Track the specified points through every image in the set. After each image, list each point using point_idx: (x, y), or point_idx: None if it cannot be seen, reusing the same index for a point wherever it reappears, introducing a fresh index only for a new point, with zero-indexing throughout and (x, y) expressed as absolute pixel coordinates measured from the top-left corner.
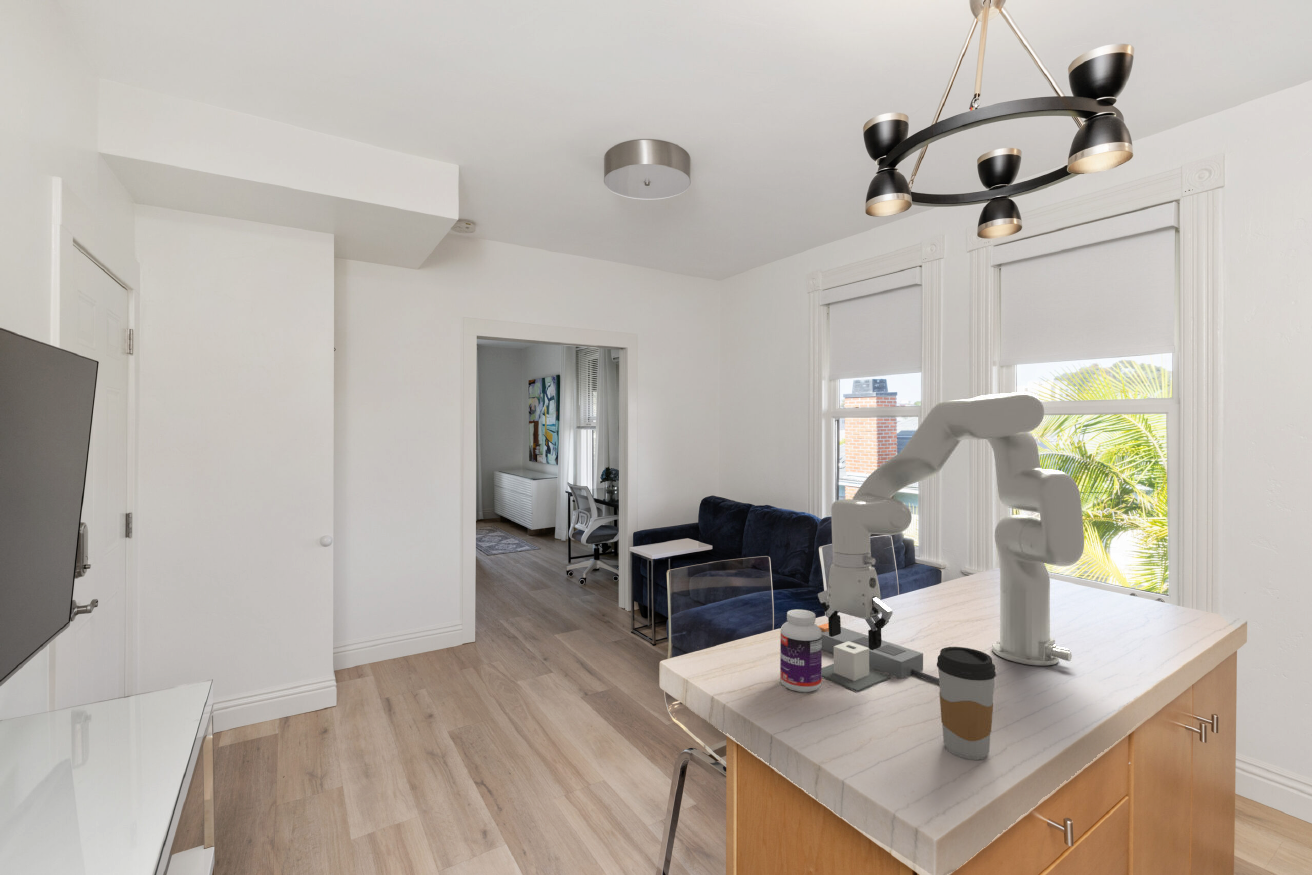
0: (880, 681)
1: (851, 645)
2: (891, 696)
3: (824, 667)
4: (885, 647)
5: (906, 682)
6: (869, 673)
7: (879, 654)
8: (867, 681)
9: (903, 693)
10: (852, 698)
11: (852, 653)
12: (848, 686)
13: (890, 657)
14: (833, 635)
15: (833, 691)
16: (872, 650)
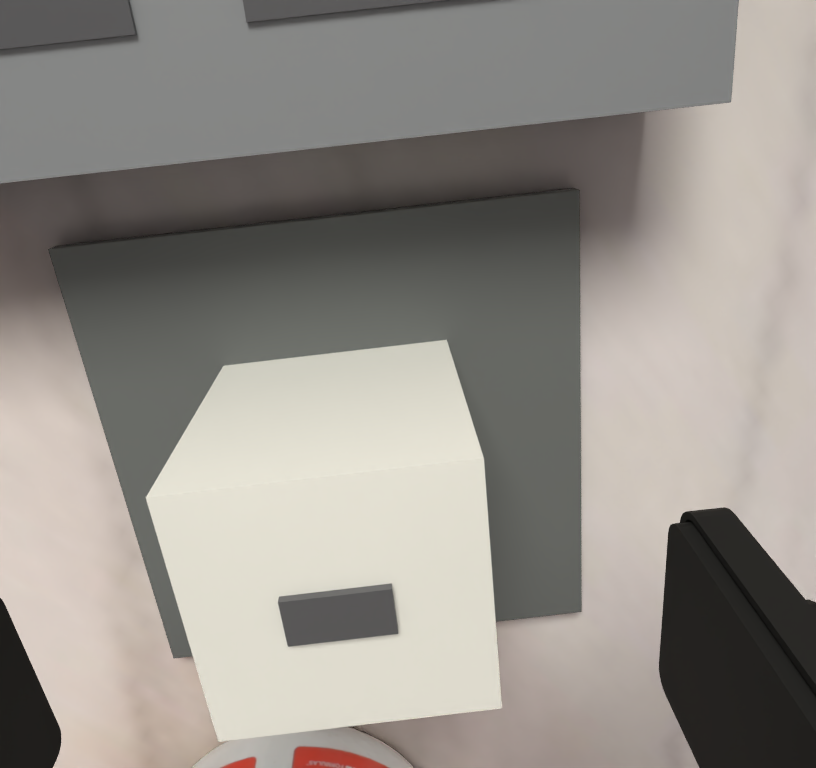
0: (577, 346)
1: (291, 569)
2: (766, 461)
3: (145, 541)
4: None
5: (716, 130)
6: (425, 312)
7: (406, 136)
8: (528, 452)
9: (804, 346)
10: (613, 679)
11: (478, 706)
12: (504, 619)
13: (559, 100)
14: (49, 727)
15: None
16: (258, 101)
